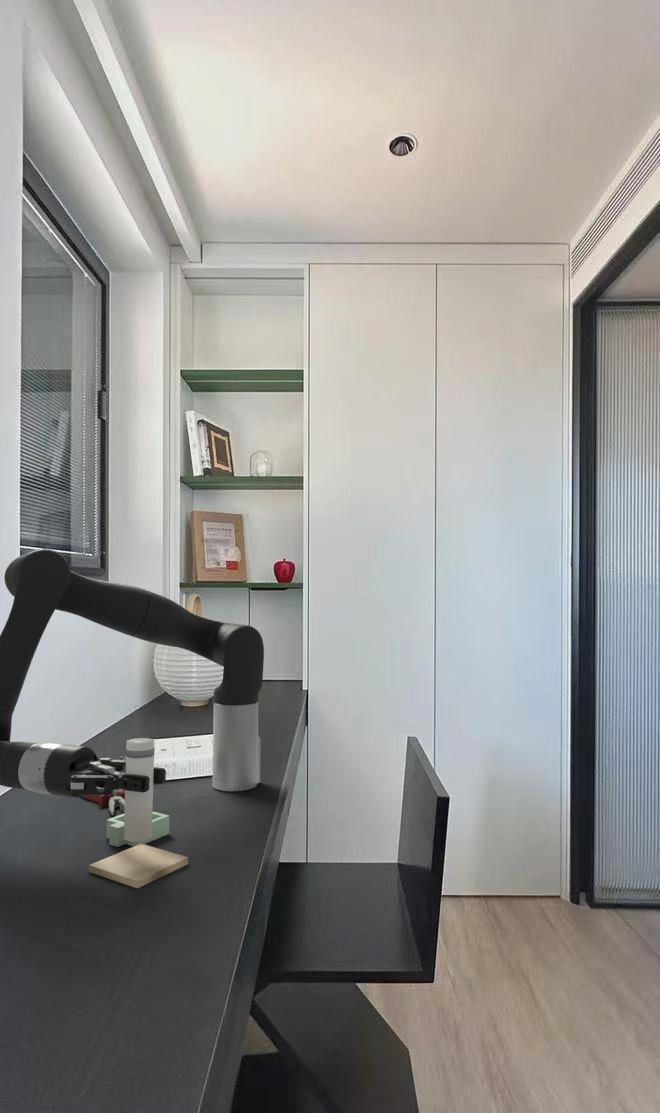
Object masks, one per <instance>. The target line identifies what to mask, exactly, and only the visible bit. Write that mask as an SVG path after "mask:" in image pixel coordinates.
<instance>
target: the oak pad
mask: <svg viewBox="0 0 660 1113" xmlns="http://www.w3.org/2000/svg"><path fill="white" fill-rule="evenodd" d="M187 865H189V857H188V856H185V855H182V854H179V853H175V852H171V851H169V850H164V849H161V848H157V847H155V846H151V845H147V844H139V845H137V846H131V847H130V848H127V849H124V850H121V851H119V852H118V853H115V854H113V855H110V856H107V857H105V858H103V859H100V860H98V861H96V862H93V863H91V864H89V865H88V869H89V870H88V872H89V873H91V874H93V875H97V876H99V877H100V876H101V877H103V878H106V879H109V880H110V881H111V880H112V881H115V882H116V883H117V882H118V883H120V884H123V885H125V886H129V887H132V888H136V889H140V888H141V887H143V886H145V885H148V884H150V883H152V882H154V881H155V880H158V879H160V878H162V877H164V876H166V875H169V874H171V873H172V872H175V871H176V870H179V869H181V868H183V867H185V866H187Z"/></svg>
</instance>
